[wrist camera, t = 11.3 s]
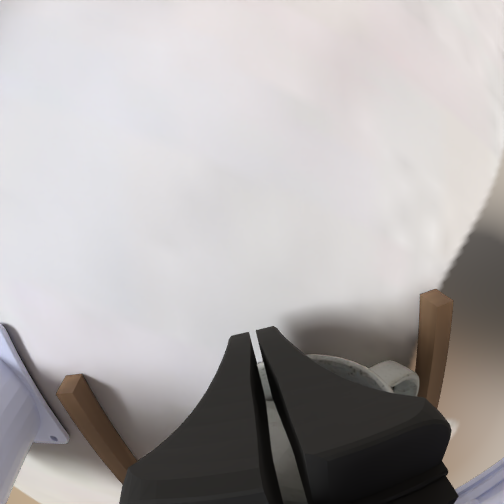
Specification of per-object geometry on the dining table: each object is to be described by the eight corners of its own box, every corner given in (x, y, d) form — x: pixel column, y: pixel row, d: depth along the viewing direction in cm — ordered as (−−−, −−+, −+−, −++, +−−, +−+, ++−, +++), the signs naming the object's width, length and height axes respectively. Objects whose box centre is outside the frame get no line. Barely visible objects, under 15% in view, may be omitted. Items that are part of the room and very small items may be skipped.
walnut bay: (170, 516, 17) (169, 531, 16) (66, 375, 13) (55, 394, 12) (411, 458, 18) (419, 471, 17) (435, 288, 14) (453, 300, 13)
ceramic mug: (233, 470, 16) (249, 580, 9) (189, 374, 14) (187, 529, 6) (399, 420, 17) (457, 508, 9) (409, 312, 14) (513, 409, 7)
